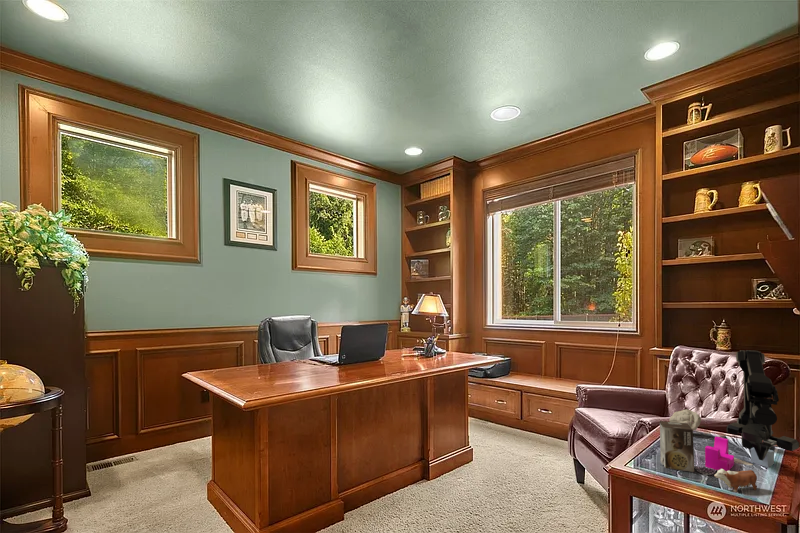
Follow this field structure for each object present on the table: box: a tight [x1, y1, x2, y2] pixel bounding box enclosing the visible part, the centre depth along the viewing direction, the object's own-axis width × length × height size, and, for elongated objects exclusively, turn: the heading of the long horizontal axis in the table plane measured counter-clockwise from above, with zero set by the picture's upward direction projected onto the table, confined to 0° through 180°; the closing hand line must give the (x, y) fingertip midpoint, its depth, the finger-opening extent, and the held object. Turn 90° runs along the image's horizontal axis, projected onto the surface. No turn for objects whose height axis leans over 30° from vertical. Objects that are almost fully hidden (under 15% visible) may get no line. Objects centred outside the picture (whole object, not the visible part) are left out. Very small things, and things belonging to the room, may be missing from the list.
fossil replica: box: [668, 408, 702, 432], centre depth 181 cm, size 12×8×10 cm
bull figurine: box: [714, 469, 758, 493], centre depth 132 cm, size 4×13×8 cm, turn 95°
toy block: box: [704, 436, 735, 471], centre depth 151 cm, size 15×6×8 cm, turn 130°
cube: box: [750, 447, 775, 468], centre depth 152 cm, size 5×5×5 cm
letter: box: [734, 457, 754, 466], centre depth 153 cm, size 12×10×1 cm
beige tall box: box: [659, 420, 695, 473], centre depth 148 cm, size 9×6×16 cm
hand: (761, 460), depth 146 cm, fingers closed
